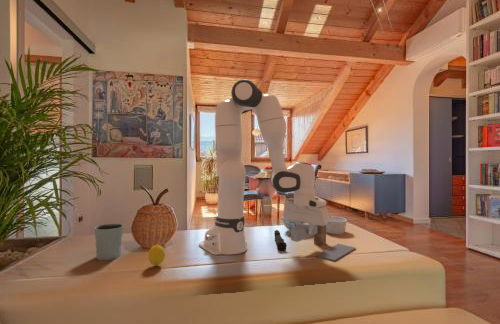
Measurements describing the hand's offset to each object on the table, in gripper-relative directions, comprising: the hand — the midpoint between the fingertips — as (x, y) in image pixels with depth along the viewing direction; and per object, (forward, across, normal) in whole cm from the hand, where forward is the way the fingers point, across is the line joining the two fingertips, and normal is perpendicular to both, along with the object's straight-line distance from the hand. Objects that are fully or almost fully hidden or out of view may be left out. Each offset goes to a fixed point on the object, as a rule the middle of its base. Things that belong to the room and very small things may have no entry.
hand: (304, 232), depth 116 cm
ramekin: (+9, -6, +38) cm, 39 cm away
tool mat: (+8, +11, +8) cm, 15 cm away
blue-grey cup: (+7, -53, -60) cm, 80 cm away
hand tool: (+8, -14, 0) cm, 16 cm away
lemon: (+7, -30, -51) cm, 60 cm away
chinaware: (+8, -20, +24) cm, 32 cm away
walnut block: (+8, 0, +14) cm, 16 cm away
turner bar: (+2, 0, 0) cm, 2 cm away
